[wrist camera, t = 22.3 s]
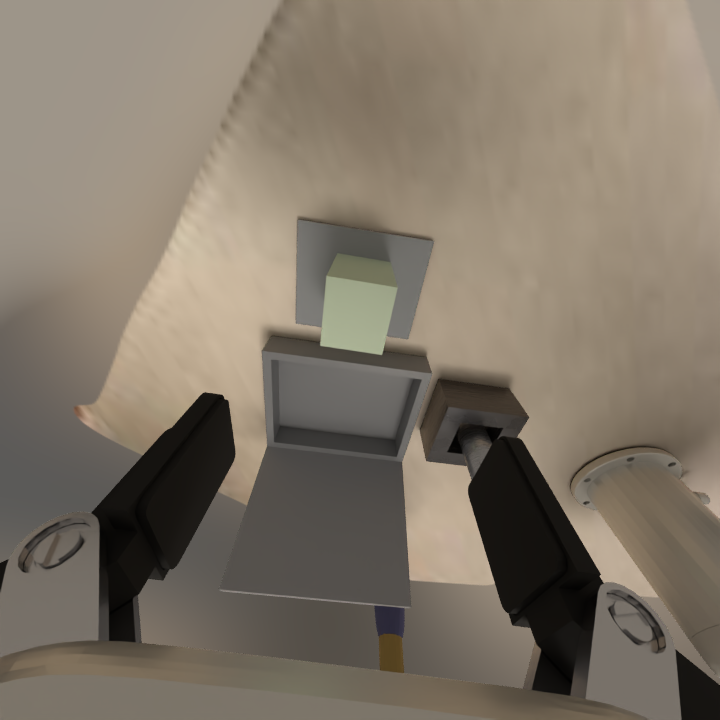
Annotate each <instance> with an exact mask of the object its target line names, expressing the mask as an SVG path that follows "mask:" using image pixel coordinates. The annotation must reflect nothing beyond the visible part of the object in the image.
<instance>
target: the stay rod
mask: <svg viewBox="0 0 720 720" xmlns="http://www.w3.org/2000/svg"><path fill="white" fill-rule="evenodd" d="M456 435H457V438H458V441H459V444H460V447H461V450H462V453H463V455H464V458H465V461H466V464H467V467H468V470H469V473H470V476H471V479H473V477H474V476H475V474H476V472H477V470H478V468H479V467H480V465H481V463H482V461H483V460H484V458H485V456H486V454H487V452H488V451H489V449H490V447H491V445H492V442H491V440H490V438H489V435H488V433H487V431H486V429H485V427H484V426H482V425H474V424H466V423H460V425H459V428H458V430H457V432H456Z"/></svg>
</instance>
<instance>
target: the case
mask: <svg viewBox="0 0 720 720" xmlns="http://www.w3.org/2000/svg"><path fill="white" fill-rule="evenodd" d="M262 361H263V380H264V398H265V416H266V434H267V446H270V447H278V448H287V449H295V450H304V451H312V452H320V453H329V454H337V455H346V456H354V457H363V458H371V459H380V460H388V461H397V462H402V461H403V458H404V455H405V452H406V449H407V446H408V443H409V440H410V437H411V435H412V432H413V429H414V426H415V423H416V420H417V417H418V414H419V411H420V408H421V405H422V402H423V400H424V397H425V394H426V391H427V388H428V385H429V382H430V379H431V376H432V371H431V368H430V365H429V362H428V359H427V357H421V356H414V355H407V354H399V353H392V352H385V351H383V353H382V355H379V354H372V353H365V352H359V351H352V350H345V349H339V348H332V347H325V346H320V342H312V341H305V340H298V339H291V338H283V337H276V336H271V338H270V339H269V341H268V342H267V344H266V345H265V347H264V348H263V350H262Z"/></svg>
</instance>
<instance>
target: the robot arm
mask: <svg viewBox="0 0 720 720" xmlns="http://www.w3.org/2000/svg"><path fill="white" fill-rule="evenodd" d="M234 458H235V445H234V438H233V430H232V423H231V416H230V408H229V402H228V400H224V396H223V395H220V394H213V393H206V392H205V393H203V394H201V395H200V397H199V398H198V399H197V400H196V401H195V402H194V403H193V404H192V406H191V407H190V408H189V409H188V410H187V411H186V412H185V413H184V415H183V416H182V417H181V418H180V419H179V420H178V421H177V423H176V424H175V425H174V426H173V427H172V428H170V429H168V430H166V431H165V432H164V433H163V434H162V435H161V436H160V437H159V438H158V439H157V441H156V442H155V443H154V444H153V445H152V446H151V447H150V448H149V449H148V451H147V452H146V453H145V454H144V455H143V456H142V457H141V458H140V459H139V461H138V462H137V463H136V464H135V465H134V466H133V467H132V468H131V469H130V471H129V472H128V473H127V474H126V475H125V476H124V477H123V478H122V479H121V480H120V482H119V483H118V484H117V485H116V486H115V487H114V488H113V489H112V491H111V492H110V493H109V494H108V495H107V496H106V497H105V498H104V499H103V500H102V502H101V503H100V504H99V505H98V506H97V507H96V508H95V510H94V511H93V512H92V513H88V512H72V513H68V514H65V515H62V516H59V517H57V518H54V519H52V520H50V521H48V522H46V523H44V524H43V525H41V526H40V527H38V528H37V529H35V530H34V531H32V532H31V533H30V534H29V535H28V536H27V537H26V538H24V539H23V540H22V541H21V542H20V543H19V545H18V546H17V547H16V548H15V550H14V551H13V552H12V554H11V556H10V558H9V559H8V560H6V561H4V562H1V563H0V720H720V685H718V684H717V683H716V682H715V681H714V680H712V679H711V678H710V677H709V676H707V675H706V674H705V673H704V672H703V671H702V670H700V669H699V668H698V667H697V666H695V665H694V664H693V663H692V662H690V661H689V660H688V659H687V658H686V657H684V656H683V655H682V654H681V653H679V652H678V651H677V650H676V649H675V647H674V643H673V639H672V637H671V635H670V633H669V631H668V629H667V627H666V625H665V624H664V623H663V621H662V620H661V619H660V617H659V616H658V614H657V613H656V612H655V611H654V610H653V609H652V608H651V607H650V606H649V605H648V603H647V602H645V601H644V600H643V599H642V598H641V597H639V596H638V595H637V594H636V593H635V592H633V591H631V590H630V589H628V588H626V587H625V586H622V585H619V584H617V583H611V582H606V583H603V582H602V580H601V578H600V575H601V574H600V572H599V570H598V569H597V567H596V565H595V564H594V562H593V560H592V559H591V557H590V555H589V553H588V552H587V550H586V548H585V547H584V545H583V543H582V541H581V540H580V538H579V536H578V535H577V533H576V531H575V530H574V528H573V526H572V524H571V523H570V521H569V519H568V518H567V516H566V514H565V513H564V511H563V509H562V507H561V506H560V504H559V502H558V501H557V499H556V497H555V495H554V494H553V492H552V490H551V489H550V487H549V485H548V484H547V482H546V480H545V478H544V477H543V475H542V473H541V472H540V470H539V468H538V467H537V465H536V463H535V461H534V460H533V458H532V456H531V455H530V453H529V451H528V450H527V448H526V446H525V444H524V443H523V441H522V440H521V439H519V438H514V437H507V436H501V437H500V438H499V439H496V440H494V442H493V443H492V445H491V447H490V449H489V451H488V452H487V454H486V456H485V458H484V460H483V461H482V463H481V465H480V467H479V468H478V470H477V472H476V474H475V476H474V477H473V479H472V481H471V483H470V484H469V488H468V495H469V498H470V502H471V505H472V508H473V512H474V515H475V518H476V522H477V525H478V528H479V532H480V535H481V538H482V542H483V545H484V548H485V552H486V555H487V558H488V561H489V565H490V568H491V571H492V575H493V578H494V581H495V585H496V588H497V591H498V594H499V598H500V601H501V604H502V607H503V609H504V610H505V611H506V612H507V613H509V616H510V619H511V623H512V625H513V626H521V627H528V628H531V630H532V633H533V636H534V639H535V644H534V648H533V652H532V656H531V659H530V663H529V667H528V671H527V675H526V679H525V683H524V687H523V689H521V688H514V687H507V686H499V685H491V684H483V683H475V682H467V681H459V680H452V679H444V678H435V677H428V676H421V675H413V674H405V673H397V672H389V671H380V670H372V669H363V668H356V667H348V666H340V665H332V664H323V663H315V662H307V661H299V660H291V659H282V658H273V657H264V656H256V655H248V654H240V653H230V652H223V651H214V650H206V649H197V648H188V647H177V646H166V645H156V644H146V643H142V641H141V629H140V616H139V603H138V594H139V593H140V591H141V590H142V588H143V586H144V585H145V583H146V581H147V580H148V579H155V580H164V578H165V576H166V574H167V572H168V571H169V569H174V568H175V567H176V566H177V564H178V563H179V561H180V559H181V558H182V556H183V554H184V552H185V550H186V548H187V547H188V545H189V543H190V541H191V539H192V537H193V535H194V534H195V532H196V530H197V528H198V526H199V524H200V522H201V521H202V519H203V517H204V515H205V513H206V511H207V510H208V508H209V506H210V504H211V502H212V500H213V499H214V497H215V495H216V493H217V491H218V489H219V487H220V486H221V484H222V482H223V480H224V478H225V476H226V475H227V473H228V471H229V469H230V467H231V465H232V463H233V461H234ZM681 475H682V465H681V464H680V462H679V461H678V460H677V459H676V458H675V457H674V456H673V455H671V454H670V453H668V452H666V451H664V450H661V449H657V448H649V447H641V448H630V449H625V450H620V451H616V452H613V453H610V454H607V455H605V456H602V457H600V458H598V459H596V460H594V461H593V462H591V463H589V464H588V465H586V466H585V467H584V468H582V469H581V470H580V471H579V472H578V473H577V474H576V476H575V477H574V479H573V481H572V484H571V492H572V495H573V496H574V498H575V499H576V500H577V502H578V503H579V504H580V505H582V506H584V507H586V508H589V509H593V510H598V511H599V513H600V514H601V516H602V517H603V519H604V520H605V521H606V523H607V524H608V526H609V527H610V528H611V530H612V531H613V533H614V534H615V536H616V537H617V538H618V540H619V541H620V543H621V544H622V545H623V547H624V548H625V550H626V551H627V552H628V554H629V555H630V557H631V558H632V560H633V561H634V562H635V564H636V565H637V567H638V568H639V569H640V571H641V572H642V574H643V575H644V577H645V578H646V579H647V581H648V582H649V584H650V585H651V586H652V588H653V589H654V591H655V592H656V594H657V595H658V596H659V598H660V599H661V601H662V602H663V603H664V605H665V606H666V608H667V609H668V611H669V612H670V613H671V614H672V616H673V618H674V619H675V620H676V622H677V623H678V625H679V626H680V628H681V629H682V630H683V632H684V633H685V635H686V636H687V637H688V639H689V640H690V642H691V643H692V644H693V646H694V647H695V649H696V650H697V651H698V653H699V654H700V656H701V657H702V658H703V660H704V661H705V662H706V664H707V665H708V666H709V667H710V669H711V670H712V671H713V672H714V673H715V674H716V675H717V676H718V677H719V678H720V519H719V518H718V517H717V516H716V515H715V514H714V513H713V512H712V511H711V510H710V509H709V508H708V507H706V506H705V505H704V504H709V502H710V498H709V497H708V495H706V494H705V493H701V492H693V491H691V490H690V489H689V488H688V487H687V486H686V485H685V484H684V483H683V482H682V481H681V480H680V478H681Z"/></svg>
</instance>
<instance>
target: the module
mask: <svg viewBox="0 0 720 720" xmlns="http://www.w3.org/2000/svg"><path fill="white" fill-rule="evenodd" d="M397 289H398V287H397V283H396V279H395V276H394V272H393V269H392V265H391V262H387V261H381V260H375V259H369V258H364V257H358V256H352V255H346V254H340V253H337V255H336V257H335V259H334V261H333V263H332V266H331V268H330V270H329V272H328V274H327V276H326V286H325V297H324V308H323V319H322V330H321V341H320V346H325V347H332V348H339V349H345V350H352V351H359V352H365V353H372V354H379V355H382V353H383V349H384V345H385V341H386V336H387V332H388V328H389V323H390V319H391V315H392V310H393V306H394V302H395V298H396V293H397Z"/></svg>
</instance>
